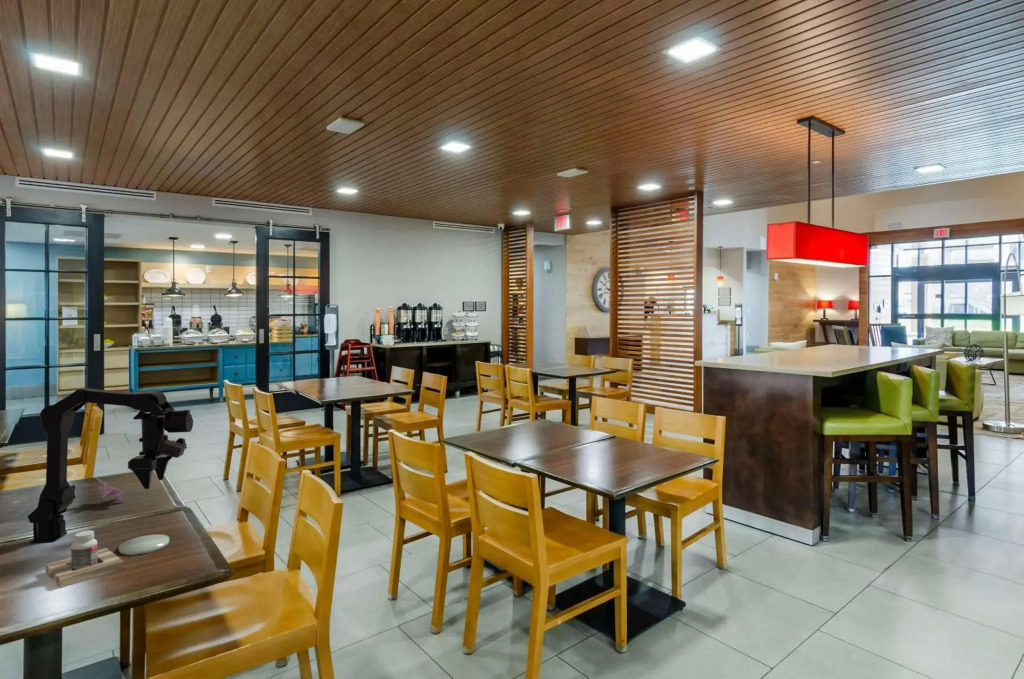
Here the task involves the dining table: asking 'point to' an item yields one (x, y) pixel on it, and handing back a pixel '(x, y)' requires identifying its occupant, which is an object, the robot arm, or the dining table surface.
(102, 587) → the dining table surface
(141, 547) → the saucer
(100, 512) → the dining table surface
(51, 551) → the dining table surface
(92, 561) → the pill bottle
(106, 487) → the lily
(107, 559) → the socket block
